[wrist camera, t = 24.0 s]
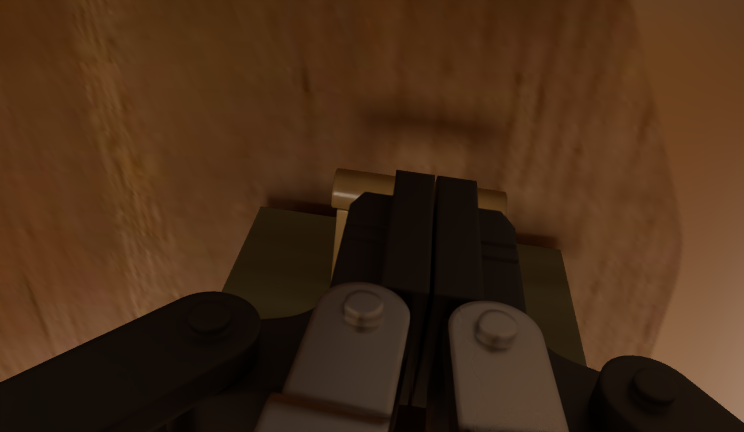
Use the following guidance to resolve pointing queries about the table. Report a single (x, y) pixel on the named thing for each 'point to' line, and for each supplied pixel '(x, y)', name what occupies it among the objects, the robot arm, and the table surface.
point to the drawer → (319, 253)
